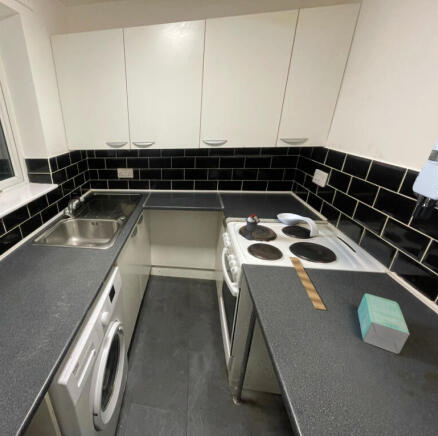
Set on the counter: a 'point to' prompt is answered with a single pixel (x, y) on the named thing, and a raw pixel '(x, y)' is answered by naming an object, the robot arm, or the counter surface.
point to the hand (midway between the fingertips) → (419, 217)
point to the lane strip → (307, 284)
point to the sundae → (251, 225)
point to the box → (382, 323)
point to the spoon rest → (294, 219)
